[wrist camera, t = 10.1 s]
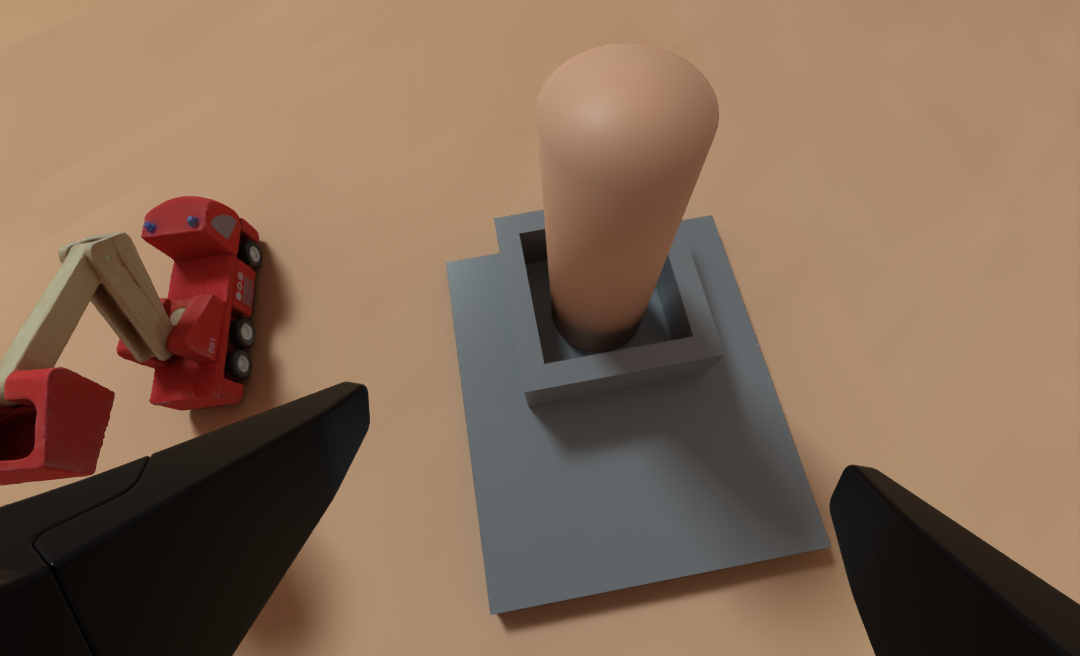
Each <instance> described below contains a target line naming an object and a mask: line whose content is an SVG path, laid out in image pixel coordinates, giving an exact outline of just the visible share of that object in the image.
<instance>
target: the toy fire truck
mask: <svg viewBox="0 0 1080 656" xmlns="http://www.w3.org/2000/svg"><path fill="white" fill-rule="evenodd" d="M141 237H142V238H143V239H144V240H145V241H146V242H148V243H149V244H151V245H152V246H154V247H155V248H157V249H158V250H160V251H161V252H163V253H165V254H166V255H167V256H169V257H171V258H172V259H173V260H174V265H173V270H172V274H171V280H170V287H169V293H168V298H167V299H166V298H162V299H160V298H159V297H158V294H157V292H156V290H155V287H154V286H153V284H152V281H151V279H150V277H149V275H148V273H147V271H146V269H145V267H144V265H143V263H142V261H141V259H140V257H139V254H138V252H137V250H136V247H135V246H134V244H133V242H132V240H131V238H130V237H129V235H127V234H126V233H113V234H103V235H94V236H91V237H88V238H85V239H82V240H79V241H76V242H73V243H70V244H68V245H65V246H63V247H61V248H60V250H59V259H60V261H61V263H62V265H61V266H60V268H59V270H58V271H57V273H56V275H55V276H54V277H53V279H52V280H51V282H50V284H49V285H48V287H47V288H46V290H45V292H44V293H43V295H42V296H41V298H40V299H39V301H38V302H37V304H36V305H35V307H34V309H33V310H32V312H31V314H30V315H29V317H28V319H27V320H26V322H25V323H24V325H23V326H22V327H21V329H20V331H19V333H18V334H17V336H16V337H15V339H14V341H13V342H12V344H11V346H10V348H9V349H8V351H7V352H6V354H5V355H4V357H3V359H2V361H1V362H0V485H10V484H20V483H24V482H34V481H45V480H54V479H63V478H71V477H82V476H88V475H92V474H93V473H95V470H96V465H97V460H98V457H99V453H100V449H101V447H102V445H103V439H104V437H105V436H104V433H105V431H106V427H107V426H108V421H109V419H110V412H111V409H112V406H113V401H114V395H115V393H114V392H113V391H110V390H109V389H108V388H105V387H103V386H101V385H99V384H98V383H96V382H93V381H91V380H89V379H87V378H85V377H82V376H81V375H79V374H77V373H75V372H73V371H71V370H69V369H66V368H62V367H58V368H53V367H54V366H55V364H56V362H57V360H58V358H59V357H60V355H61V353H62V351H63V349H64V347H65V346H66V344H67V342H68V340H69V339H70V337H71V335H72V333H73V331H74V330H75V328H76V326H77V324H78V322H79V320H80V318H81V316H82V315H83V313H84V311H85V309H86V307H87V305H88V303H89V302H90V301H91V302H92V303H93V305H94V306H95V307H96V309H97V310H98V311H99V313H100V314H101V315H102V316H103V317H104V319H105V320H106V321H107V323H108V324H109V325H110V326H111V328H112V329H113V330H114V332H115V333H116V334H117V336H118V337H119V338H120V339H119V343H118V346H117V353H118V355H119V356H121V357H122V358H124V359H127V360H131V361H133V362H136V363H138V364H141V365H145V366H149V367H151V368H154V369H155V372H154V380H153V387H152V393H151V398H150V403H151V404H153V405H161V406H164V407H168V408H172V409H177V410H189V409H198V408H205V407H213V406H221V405H229V404H237V403H240V401H241V400H242V397H243V385H242V384H240V383H238V382H233V379H241V378H245V377H247V376H248V375H249V373H250V371H251V359H250V357H249V356H248V354H247V353H246V352H245V351H243V350H241V349H237V350H236V347H237V346H239V347H245V346H249V345H250V344H252V342H253V340H254V337H255V331H254V327H253V325H252V324H251V322H250V321H249V320H247V319H246V318H248V317H250V316H251V314H252V304H253V297H254V287H255V277H256V275H255V271H254V270H253V269H252V268H253V267H258V266H259V265H260V264H261V261H262V254H261V250H260V248H259V247H258V246H257V244H256V243H258V242H259V236H258V232H257V231H256V230H255V229H254V228H253V227H252V226H251V225H250V224H249V223H248V222H247V221H246V220H244V219H242V218H239V216H238V215H237V213H236V212H235V211H234V210H233V209H231V208H229V207H227V206H226V205H224V204H222V203H220V202H217V201H214V200H212V199H207V198H203V197H197V196H183V197H177V198H173V199H170V200H168V201H165V202H163V203H162V204H160V205H158V206H157V207H155V208H153V209H152V210H151V211H150V212H148V213H147V214H146V216H145V222H144V226H143V231H142V236H141Z"/></svg>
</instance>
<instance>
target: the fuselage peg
mask: <svg viewBox="0 0 1080 656" xmlns="http://www.w3.org/2000/svg"><path fill="white" fill-rule="evenodd" d="M536 115H537V130H538V142H539V155H540V168H541V181H542V193H543V206H544V219H545V232H546V244H547V257H548V270H549V283H550V295H551V308H552V317H553V321H554V324H555V326H556V328H557V330H558V332H559V333H560V334H561V336H562V337H563V338H564V339H565V340H566V341H568V342H569V343H570V344H572V345H573V346H575V347H577V348H579V349H582V350H585V351H590V352H606V351H611V350H614V349H616V348H619V347H621V346H622V345H624V344H626V343H627V342H628V341H629V340H630V339H631V338H632V337H633V336H634V335H635V333H636V332H637V330H638V328H639V326H640V324H641V321H642V319H643V316H644V314H645V311H646V309H647V306H648V304H649V301H650V299H651V296H652V293H653V291H654V288H655V286H656V283H657V281H658V278H659V276H660V273H661V271H662V268H663V266H664V263H665V261H666V258H667V255H668V253H669V250H670V248H671V245H672V243H673V240H674V238H675V235H676V233H677V230H678V228H679V225H680V222H681V220H682V217H683V215H684V212H685V210H686V207H687V205H688V202H689V200H690V197H691V195H692V192H693V190H694V187H695V184H696V182H697V179H698V177H699V174H700V172H701V169H702V167H703V164H704V162H705V159H706V157H707V154H708V152H709V149H710V146H711V144H712V141H713V139H714V136H715V133H716V130H717V127H718V120H719V107H718V102H717V98H716V95H715V93H714V90H713V88H712V87H711V85H710V83H709V82H708V80H707V79H706V78H705V76H704V75H703V74H702V73H701V72H700V71H699V70H698V69H697V68H696V67H695V66H694V65H692V64H691V63H689V62H688V61H687V60H685V59H683V58H682V57H680V56H678V55H676V54H674V53H672V52H669V51H667V50H664V49H661V48H658V47H653V46H649V45H643V44H631V43H621V44H610V45H605V46H600V47H596V48H593V49H589V50H587V51H584V52H582V53H580V54H578V55H576V56H574V57H572V58H570V59H569V60H567V61H566V62H564V63H563V64H562V65H561V66H559V67H558V68H557V69H556V70H555V71H554V72H553V73H552V74H551V76H550V77H549V78H548V79H547V81H546V82H545V84H544V86H543V88H542V90H541V92H540V95H539V98H538V102H537V109H536Z"/></svg>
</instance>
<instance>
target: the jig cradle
mask: <svg viewBox="0 0 1080 656" xmlns="http://www.w3.org/2000/svg"><path fill="white" fill-rule="evenodd" d="M494 221H495V227H496V233H497V238H498V244H499V250H500V253H498V254H492V255H487V256H481V257H476V258H470V259H464V260H459V261H453V262H448V263H446V267H447V274H448V282H449V290H450V298H451V306H452V314H453V322H454V330H455V338H456V346H457V353H458V361H459V369H460V377H461V385H462V393H463V401H464V409H465V417H466V424H467V432H468V440H469V448H470V456H471V464H472V472H473V480H474V488H475V496H476V503H477V511H478V519H479V527H480V535H481V543H482V551H483V559H484V567H485V575H486V582H487V590H488V598H489V606H490V614H491V615H493V614H498V613H503V612H508V611H513V610H518V609H523V608H528V607H533V606H538V605H543V604H548V603H553V602H558V601H563V600H568V599H573V598H578V597H583V596H588V595H593V594H598V593H603V592H608V591H613V590H618V589H623V588H628V587H633V586H638V585H643V584H648V583H653V582H658V581H663V580H668V579H673V578H678V577H683V576H689V575H694V574H699V573H704V572H709V571H714V570H719V569H724V568H729V567H734V566H739V565H744V564H749V563H754V562H759V561H764V560H769V559H774V558H779V557H784V556H789V555H794V554H799V553H804V552H809V551H814V550H819V549H824V548H829V547H831V544H830V541H829V539H828V536H827V533H826V530H825V527H824V525H823V522H822V519H821V516H820V514H819V511H818V508H817V505H816V503H815V500H814V497H813V494H812V491H811V489H810V486H809V483H808V480H807V478H806V475H805V472H804V469H803V466H802V464H801V461H800V458H799V455H798V453H797V450H796V447H795V444H794V441H793V439H792V436H791V433H790V430H789V428H788V425H787V422H786V419H785V416H784V414H783V411H782V408H781V405H780V403H779V400H778V397H777V394H776V391H775V389H774V386H773V383H772V380H771V378H770V375H769V372H768V369H767V366H766V364H765V361H764V358H763V355H762V353H761V350H760V347H759V344H758V342H757V339H756V336H755V333H754V330H753V328H752V325H751V322H750V319H749V317H748V314H747V311H746V308H745V305H744V303H743V300H742V297H741V294H740V292H739V289H738V286H737V283H736V280H735V278H734V275H733V272H732V269H731V267H730V264H729V261H728V258H727V255H726V253H725V250H724V247H723V244H722V242H721V239H720V236H719V233H718V230H717V228H716V225H715V222H714V219H713V217H712V215H710V216H705V217H699V218H694V219H688V220H682V221H681V222H680V225H679V228H678V230H677V233H676V235H675V238H674V240H673V243H672V245H671V248H670V250H669V253H668V255H667V258H666V261H665V263H664V266H663V268H662V271H661V273H660V276H659V278H658V281H657V283H656V286H655V288H654V291H653V293H652V296H651V299H650V301H649V304H648V306H647V309H646V311H645V314H644V316H643V319H642V321H641V324H640V326H639V328H638V330H637V332H636V333H635V335H634V336H633V337H632V338H631V339H630V340H629V341H628V342H627V343H626V344H624V345H622V346H621V347H619V348H616V349H614V350H611V351H606V352H590V351H585V350H582V349H579V348H577V347H575V346H573V345H572V344H570V343H569V342H568V341H566V340H565V339H564V338H563V337H562V336H561V334H560V333H559V332H558V330H557V328H556V326H555V324H554V321H553V317H552V308H551V295H550V283H549V270H548V257H547V244H546V232H545V219H544V210H540V211H534V212H528V213H523V214H517V215H511V216H506V217H500V218H494Z"/></svg>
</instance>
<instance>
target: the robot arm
mask: <svg viewBox="0 0 1080 656" xmlns="http://www.w3.org/2000/svg"><path fill="white" fill-rule="evenodd" d="M369 424H370V413H369V398H368V390H367V387H366V386H365V385H363V384H358V383H352V382H342V383H340V384H337V385H334V386H332V387H329V388H326V389H324V390H321V391H318V392H316V393H313V394H310V395H308V396H305V397H302V398H300V399H297V400H294V401H292V402H289V403H287V404H284V405H281V406H279V407H276V408H273V409H271V410H268V411H265V412H263V413H260V414H257V415H255V416H252V417H249V418H247V419H244V420H241V421H239V422H236V423H233V424H231V425H228V426H225V427H223V428H220V429H217V430H215V431H212V432H209V433H207V434H204V435H202V436H199V437H196V438H194V439H191V440H188V441H186V442H183V443H180V444H178V445H175V446H172V447H170V448H167V449H164V450H162V451H159V452H156V453H154V454H152V455H151V457H149V456H145V457H143V458H140V459H137V460H135V461H132V462H130V463H127V464H124V465H122V466H119V467H116V468H113V469H111V470H108V471H105V472H102V473H100V474H97V475H94V476H91V477H89V478H86V479H83V480H80V481H77V482H74V483H71V484H68V485H65V486H62V487H59V488H56V489H53V490H50V491H47V492H44V493H42V494H39V495H36V496H33V497H30V498H26V499H23V500H20V501H17V502H14V503H11V504H8V505H5V506H2V507H0V656H232V655H233V654H234V652H235V651H236V649H237V648H238V646H239V645H240V643H241V642H242V640H243V638H244V637H245V635H246V634H247V632H248V631H249V629H250V628H251V626H252V624H253V623H254V621H255V620H256V618H257V617H258V615H259V614H260V612H261V611H262V609H263V607H264V606H265V604H266V603H267V601H268V600H269V598H270V597H271V595H272V593H273V592H274V590H275V589H276V587H277V586H278V584H279V583H280V581H281V579H282V578H283V576H284V575H285V573H286V572H287V570H288V569H289V567H290V566H291V564H292V562H293V561H294V559H295V558H296V556H297V555H298V553H299V552H300V550H301V548H302V547H303V545H304V544H305V542H306V541H307V539H308V538H309V536H310V534H311V533H312V531H313V530H314V528H315V527H316V525H317V524H318V522H319V521H320V519H321V517H322V516H323V514H324V513H325V511H326V510H327V508H328V506H329V505H330V503H331V502H332V500H333V498H334V497H335V495H336V493H337V491H338V489H339V487H340V485H341V483H342V481H343V479H344V477H345V475H346V473H347V471H348V469H349V467H350V465H351V463H352V461H353V459H354V457H355V455H356V453H357V451H358V449H359V447H360V445H361V443H362V441H363V439H364V437H365V435H366V433H367V431H368V428H369ZM830 514H831V517H832V521H833V525H834V529H835V532H836V536H837V540H838V544H839V547H840V551H841V555H842V559H843V562H844V566H845V570H846V574H847V577H848V581H849V584H850V588H851V591H852V594H853V597H854V600H855V603H856V605H857V608H858V611H859V614H860V616H861V619H862V622H863V624H864V627H865V629H866V632H867V635H868V637H869V640H870V642H871V645H872V648H873V650H874V653H875V655H876V656H1080V605H1079V604H1078V603H1076V602H1075V601H1073V600H1072V599H1070V598H1069V597H1067V596H1066V595H1064V594H1063V593H1061V592H1060V591H1058V590H1057V589H1055V588H1054V587H1052V586H1051V585H1049V584H1048V583H1046V582H1045V581H1043V580H1042V579H1040V578H1039V577H1037V576H1036V575H1034V574H1033V573H1031V572H1030V571H1028V570H1027V569H1025V568H1024V567H1022V566H1021V565H1019V564H1018V563H1016V562H1015V561H1013V560H1012V559H1010V558H1009V557H1007V556H1006V555H1004V554H1003V553H1001V552H1000V551H998V550H997V549H995V548H994V547H992V546H991V545H989V544H988V543H986V542H985V541H983V540H982V539H980V538H979V537H977V536H976V535H974V534H973V533H971V532H970V531H968V530H967V529H965V528H964V527H962V526H961V525H959V524H958V523H956V522H955V521H953V520H952V519H950V518H949V517H947V516H946V515H944V514H943V513H941V512H940V511H938V510H937V509H935V508H934V507H932V506H931V505H929V504H928V503H926V502H925V501H923V500H922V499H920V498H919V497H917V496H916V495H914V494H913V493H911V492H910V491H908V490H907V489H905V488H904V487H902V486H901V485H899V484H898V483H896V482H895V481H893V480H892V479H890V478H889V477H887V476H886V475H884V474H883V473H881V472H880V471H878V470H877V469H874V468H871V467H865V466H859V465H849V466H847V467H846V468H845V469H844V471H843V473H842V475H841V477H840V479H839V481H838V484H837V486H836V488H835V490H834V492H833V494H832V497H831V500H830Z"/></svg>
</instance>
